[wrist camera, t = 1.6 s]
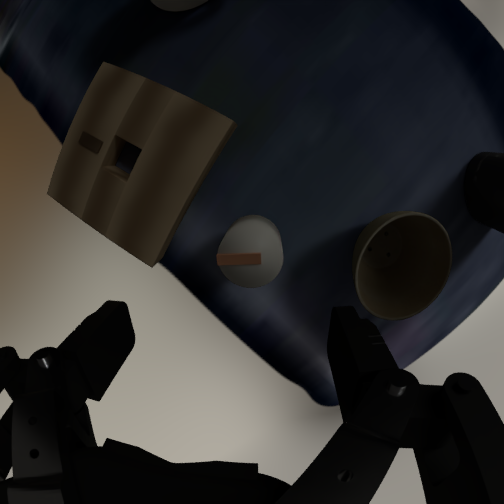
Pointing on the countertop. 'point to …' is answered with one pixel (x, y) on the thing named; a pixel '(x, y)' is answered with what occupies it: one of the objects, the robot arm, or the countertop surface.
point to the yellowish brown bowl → (401, 264)
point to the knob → (251, 252)
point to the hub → (147, 165)
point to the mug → (177, 4)
